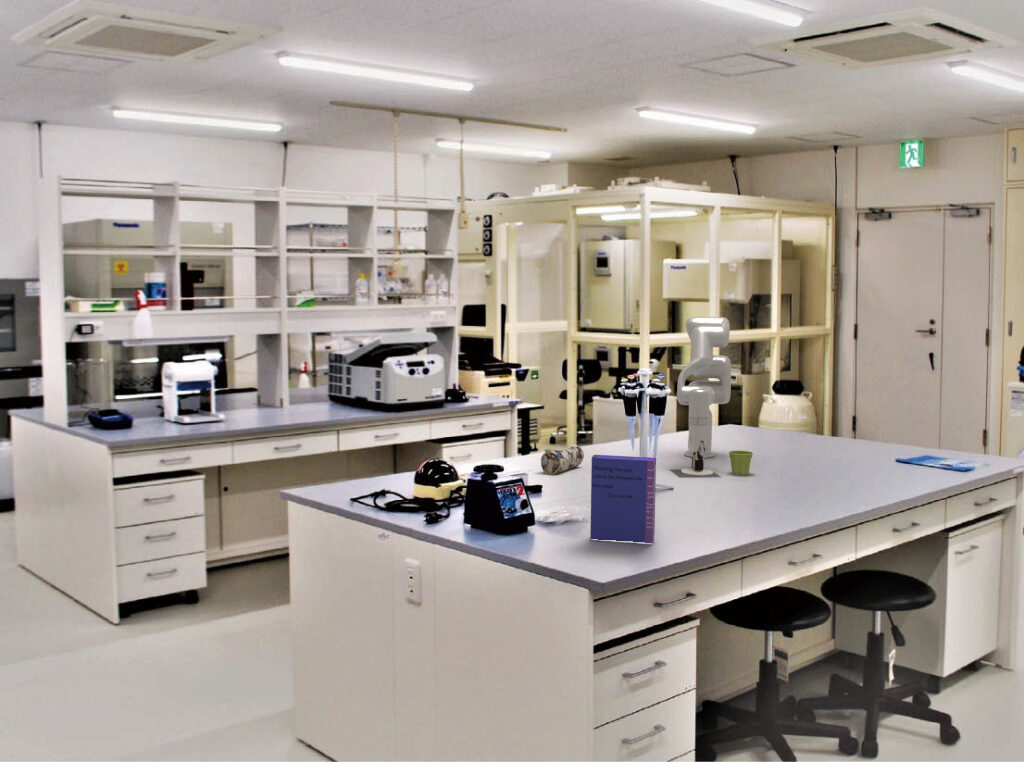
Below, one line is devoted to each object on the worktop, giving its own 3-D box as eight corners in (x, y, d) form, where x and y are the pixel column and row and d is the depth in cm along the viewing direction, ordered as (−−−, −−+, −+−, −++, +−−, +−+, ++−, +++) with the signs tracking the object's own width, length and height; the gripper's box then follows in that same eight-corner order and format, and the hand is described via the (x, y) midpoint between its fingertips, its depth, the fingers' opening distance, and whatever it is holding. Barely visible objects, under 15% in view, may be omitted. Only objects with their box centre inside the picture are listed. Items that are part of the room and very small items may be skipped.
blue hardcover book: (654, 541, 289) (656, 457, 287) (652, 545, 285) (654, 460, 282) (593, 536, 294) (594, 453, 291) (590, 540, 289) (591, 456, 287)
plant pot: (724, 475, 386) (725, 453, 385) (731, 471, 394) (732, 449, 393) (749, 478, 382) (749, 455, 381) (755, 474, 390) (756, 451, 389)
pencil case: (559, 476, 383) (559, 450, 382) (539, 473, 388) (539, 448, 387) (585, 467, 402) (585, 442, 401) (565, 465, 406) (566, 440, 405)
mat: (668, 470, 396) (668, 469, 396) (709, 470, 397) (709, 469, 397) (679, 478, 380) (679, 477, 380) (721, 478, 381) (721, 477, 381)
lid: (677, 470, 394) (678, 452, 393) (708, 470, 395) (708, 452, 394) (685, 476, 382) (686, 457, 381) (717, 476, 383) (717, 457, 382)
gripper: (683, 418, 394) (682, 465, 396) (694, 424, 378) (693, 473, 380) (702, 418, 395) (701, 465, 397) (714, 424, 379) (713, 473, 380)
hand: (697, 468), depth 388 cm, fingers closed on lid, 3 cm apart
